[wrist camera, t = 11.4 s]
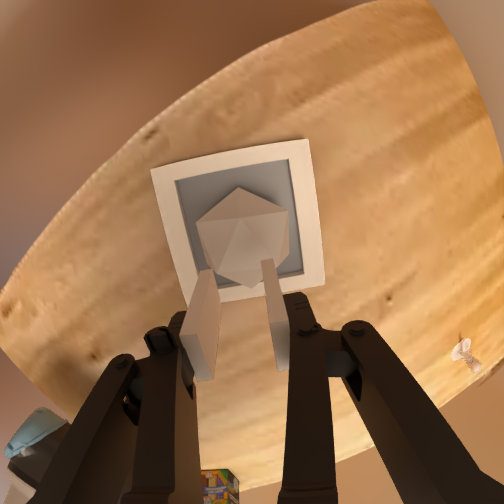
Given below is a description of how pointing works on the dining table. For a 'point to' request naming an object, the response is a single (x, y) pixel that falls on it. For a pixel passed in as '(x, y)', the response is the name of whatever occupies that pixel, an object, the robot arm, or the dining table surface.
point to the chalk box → (220, 487)
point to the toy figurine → (462, 351)
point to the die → (244, 236)
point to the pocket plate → (258, 183)
